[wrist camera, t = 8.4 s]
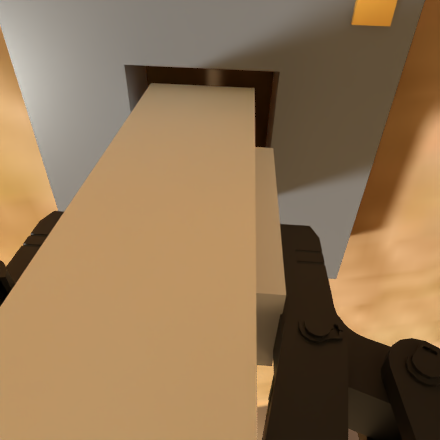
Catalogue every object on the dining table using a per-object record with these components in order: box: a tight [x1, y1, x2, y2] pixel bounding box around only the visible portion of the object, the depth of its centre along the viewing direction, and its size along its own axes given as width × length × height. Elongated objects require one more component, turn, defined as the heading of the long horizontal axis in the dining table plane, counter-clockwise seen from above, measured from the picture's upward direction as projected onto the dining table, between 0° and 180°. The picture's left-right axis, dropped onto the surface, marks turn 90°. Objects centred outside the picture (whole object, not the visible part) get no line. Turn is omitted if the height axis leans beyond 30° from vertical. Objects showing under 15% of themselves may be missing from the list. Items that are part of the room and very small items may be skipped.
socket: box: [0, 0, 425, 279], centre depth 16 cm, size 14×14×3 cm
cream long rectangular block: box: [0, 83, 257, 440], centre depth 10 cm, size 4×5×16 cm
